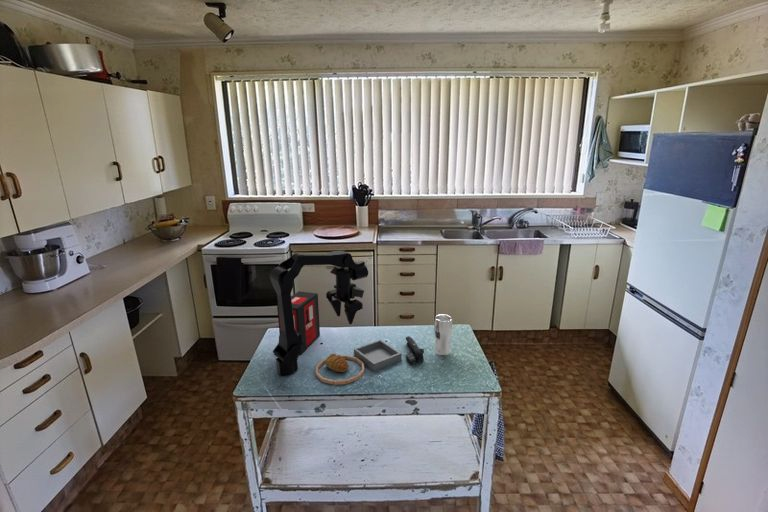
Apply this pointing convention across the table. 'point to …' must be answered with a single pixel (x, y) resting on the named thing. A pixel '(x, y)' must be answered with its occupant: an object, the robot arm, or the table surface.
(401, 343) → the table surface
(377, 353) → the bin
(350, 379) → the socket ring
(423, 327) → the table surface
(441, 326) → the drink can
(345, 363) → the pastry
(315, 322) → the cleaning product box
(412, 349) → the can opener
